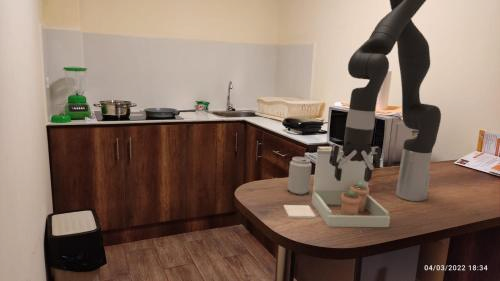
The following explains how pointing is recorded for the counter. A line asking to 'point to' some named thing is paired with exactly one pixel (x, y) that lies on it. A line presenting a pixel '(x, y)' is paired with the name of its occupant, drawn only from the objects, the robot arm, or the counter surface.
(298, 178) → the can
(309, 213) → the tile
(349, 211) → the clay pot
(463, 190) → the counter surface
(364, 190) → the clay pot
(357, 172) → the cold frame
